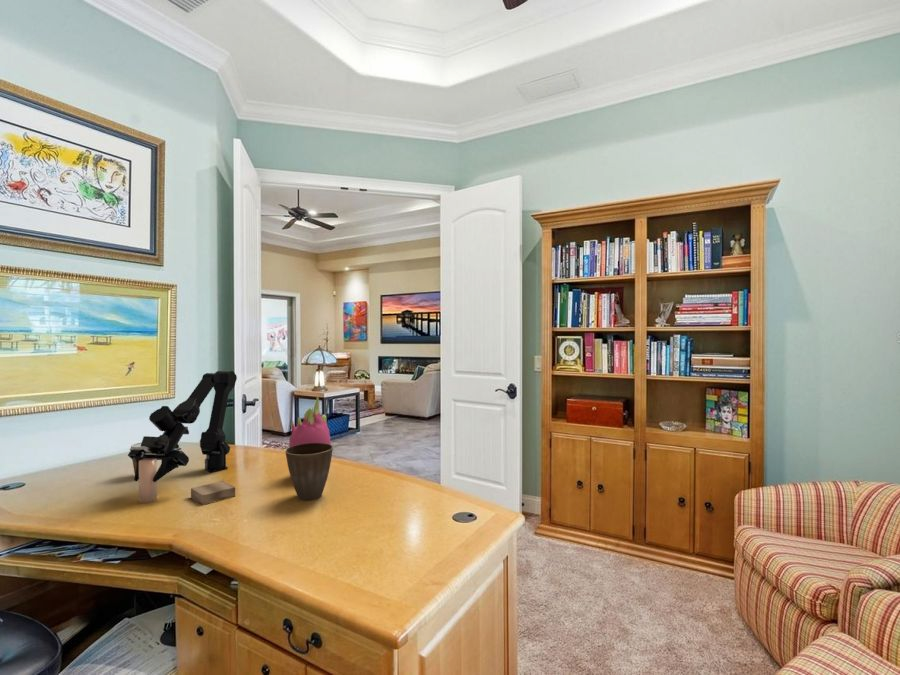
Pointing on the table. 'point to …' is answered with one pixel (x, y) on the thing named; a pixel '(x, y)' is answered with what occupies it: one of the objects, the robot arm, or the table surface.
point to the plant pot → (309, 468)
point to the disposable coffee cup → (138, 446)
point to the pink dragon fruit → (310, 428)
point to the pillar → (147, 480)
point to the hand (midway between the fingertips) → (144, 481)
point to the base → (212, 492)
